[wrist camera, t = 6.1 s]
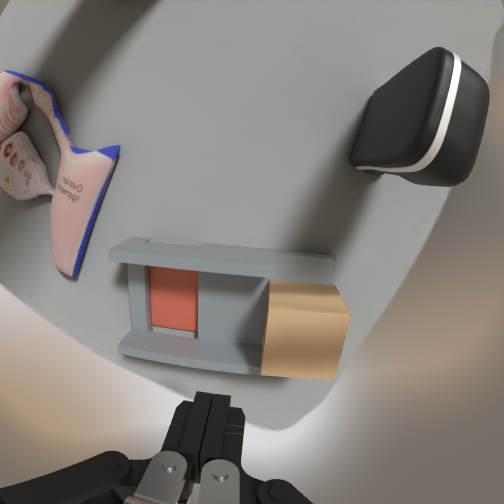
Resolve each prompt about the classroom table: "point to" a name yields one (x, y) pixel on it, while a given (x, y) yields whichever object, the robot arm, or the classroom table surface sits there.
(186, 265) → the channel
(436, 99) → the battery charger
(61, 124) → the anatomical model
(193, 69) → the classroom table surface
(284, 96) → the classroom table surface
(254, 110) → the classroom table surface
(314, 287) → the oak block
